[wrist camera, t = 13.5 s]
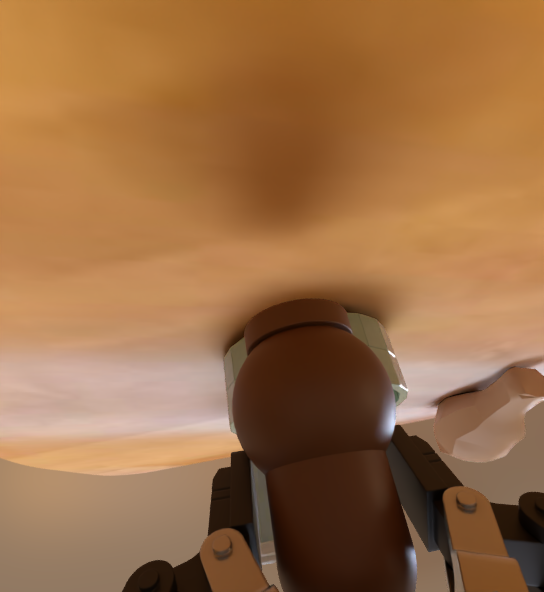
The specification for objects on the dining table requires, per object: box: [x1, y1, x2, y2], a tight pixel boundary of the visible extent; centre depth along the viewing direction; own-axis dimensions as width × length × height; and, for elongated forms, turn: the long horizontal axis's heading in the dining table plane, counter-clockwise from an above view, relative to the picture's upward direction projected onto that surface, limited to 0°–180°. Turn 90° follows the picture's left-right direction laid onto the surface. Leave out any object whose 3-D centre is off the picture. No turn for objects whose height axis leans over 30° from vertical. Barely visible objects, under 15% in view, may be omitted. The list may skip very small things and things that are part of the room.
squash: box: [433, 367, 544, 462], centre depth 51 cm, size 11×20×9 cm, turn 174°
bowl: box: [223, 312, 408, 434], centre depth 28 cm, size 13×13×6 cm
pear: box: [232, 299, 417, 592], centre depth 13 cm, size 6×6×11 cm
